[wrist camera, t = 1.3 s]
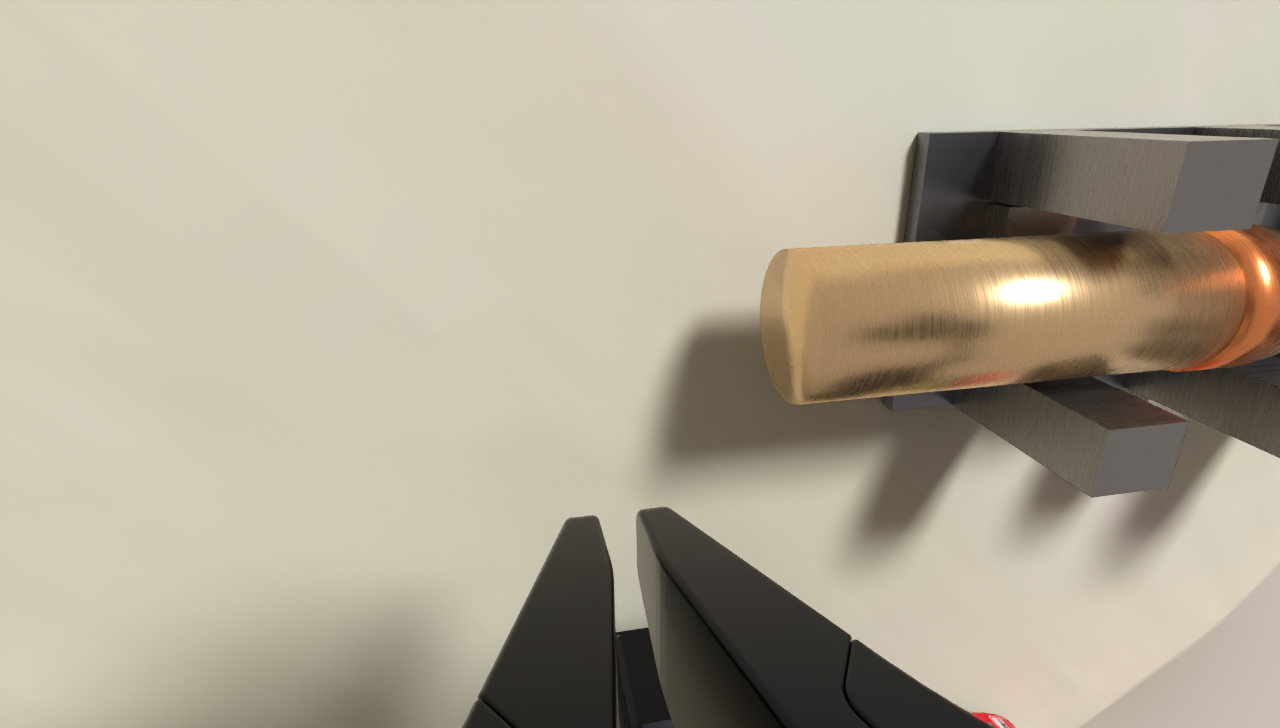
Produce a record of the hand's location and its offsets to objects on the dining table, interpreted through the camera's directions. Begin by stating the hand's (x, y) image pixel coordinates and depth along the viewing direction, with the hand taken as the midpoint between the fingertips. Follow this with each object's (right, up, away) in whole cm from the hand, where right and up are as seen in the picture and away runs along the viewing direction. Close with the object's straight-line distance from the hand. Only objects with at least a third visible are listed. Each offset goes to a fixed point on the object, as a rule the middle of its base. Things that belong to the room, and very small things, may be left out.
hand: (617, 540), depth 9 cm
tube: (+11, +5, +11) cm, 16 cm away
